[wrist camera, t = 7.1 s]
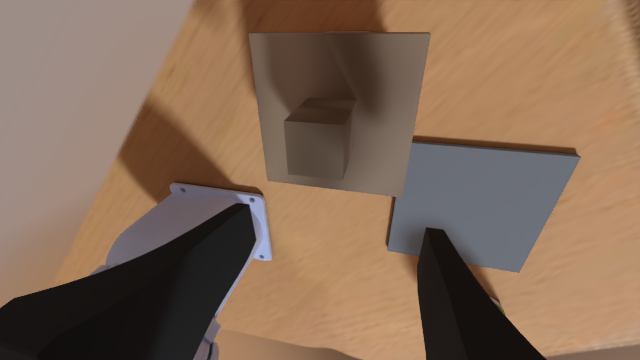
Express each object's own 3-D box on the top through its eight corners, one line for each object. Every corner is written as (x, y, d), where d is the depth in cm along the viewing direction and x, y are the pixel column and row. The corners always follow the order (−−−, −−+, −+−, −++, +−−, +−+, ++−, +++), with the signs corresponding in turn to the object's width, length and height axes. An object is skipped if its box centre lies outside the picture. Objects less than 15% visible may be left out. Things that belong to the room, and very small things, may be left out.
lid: (273, 172, 18) (240, 215, 14) (257, 32, 14) (203, 39, 10) (402, 187, 16) (402, 241, 12) (428, 32, 12) (441, 41, 8)
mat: (387, 247, 24) (387, 250, 23) (404, 140, 19) (404, 142, 18) (517, 268, 22) (519, 272, 21) (577, 154, 16) (581, 157, 16)
